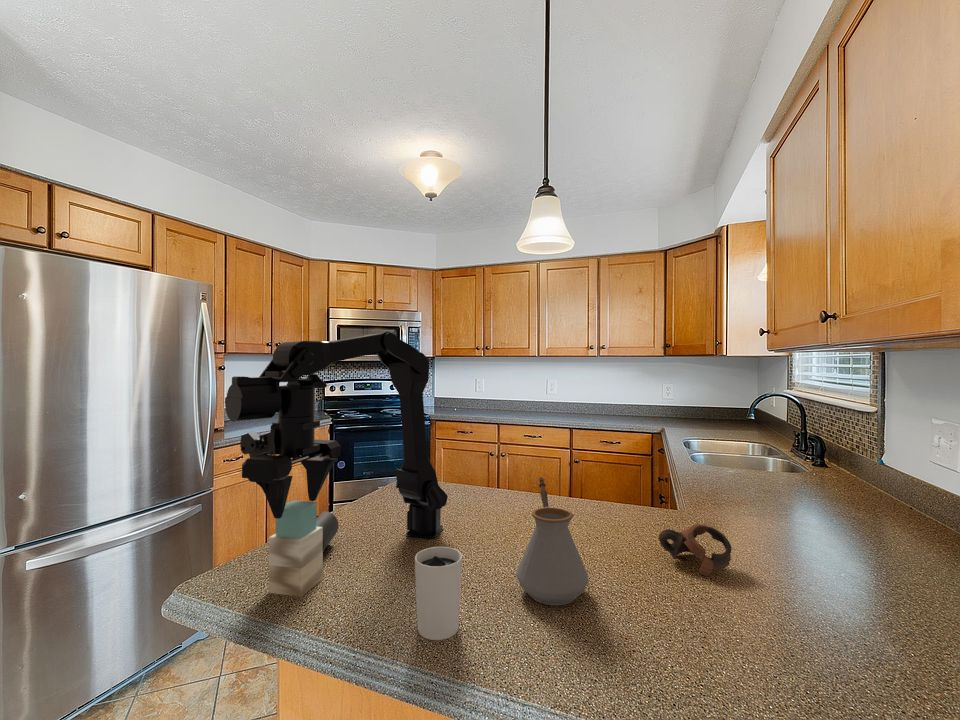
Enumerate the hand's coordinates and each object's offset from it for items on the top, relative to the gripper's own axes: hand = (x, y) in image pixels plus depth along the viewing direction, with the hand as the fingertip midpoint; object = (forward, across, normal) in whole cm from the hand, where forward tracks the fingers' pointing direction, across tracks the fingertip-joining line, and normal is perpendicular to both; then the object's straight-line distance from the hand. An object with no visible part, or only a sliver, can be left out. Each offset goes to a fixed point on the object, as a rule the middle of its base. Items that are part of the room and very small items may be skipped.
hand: (296, 508), depth 75 cm
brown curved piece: (+13, -24, +67) cm, 72 cm away
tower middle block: (+8, 0, 0) cm, 8 cm away
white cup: (+13, +6, +27) cm, 31 cm away
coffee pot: (+13, -12, +41) cm, 45 cm away
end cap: (+13, -12, -5) cm, 19 cm away
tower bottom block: (+13, 0, 0) cm, 13 cm away
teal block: (+4, 0, 0) cm, 4 cm away
